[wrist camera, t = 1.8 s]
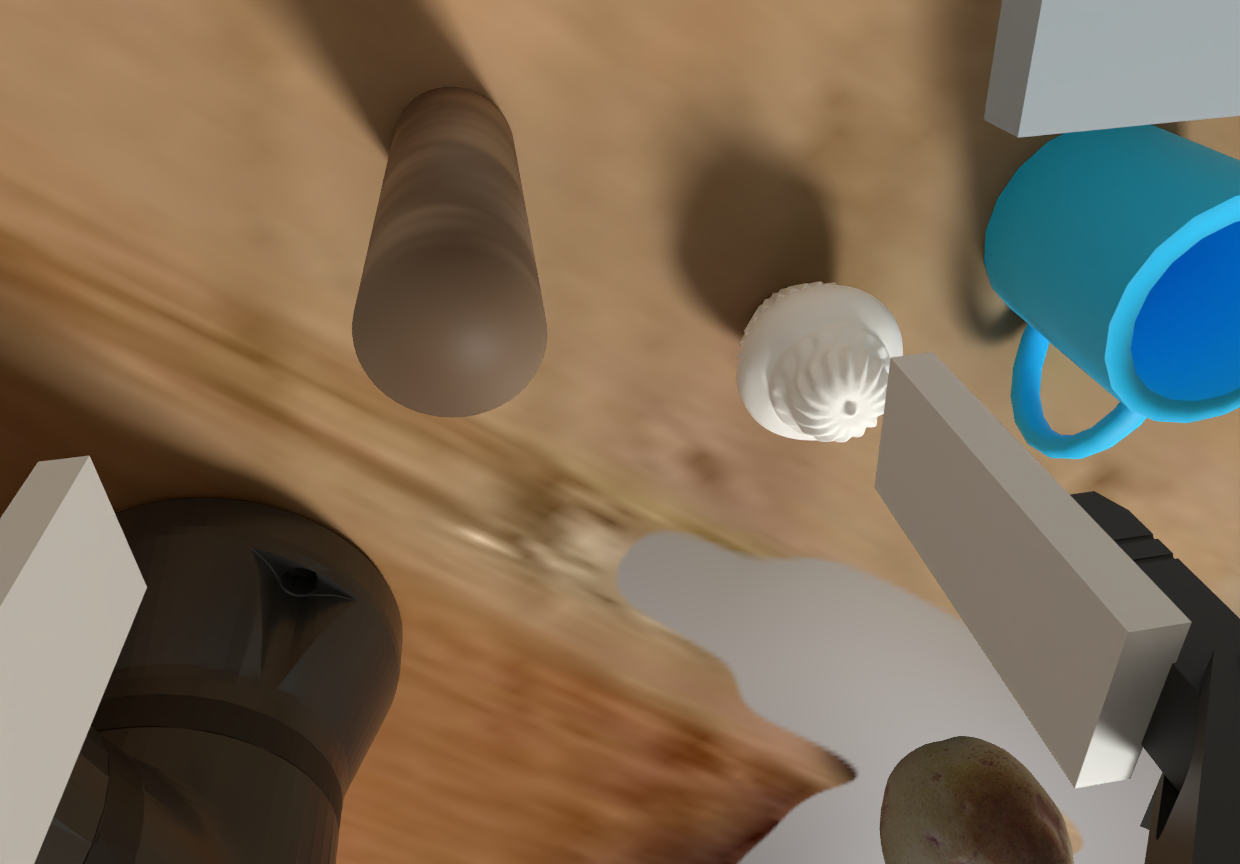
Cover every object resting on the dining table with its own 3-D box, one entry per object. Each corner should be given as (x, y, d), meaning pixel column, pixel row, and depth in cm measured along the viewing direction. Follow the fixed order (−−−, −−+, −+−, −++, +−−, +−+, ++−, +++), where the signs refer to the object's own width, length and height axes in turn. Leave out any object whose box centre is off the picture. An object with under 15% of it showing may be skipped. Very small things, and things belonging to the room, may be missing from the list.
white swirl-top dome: (683, 319, 36) (727, 413, 30) (813, 216, 34) (887, 293, 28) (770, 417, 39) (825, 520, 33) (893, 327, 37) (974, 417, 31)
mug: (1052, 90, 33) (1207, 155, 26) (1227, 149, 35) (1410, 224, 28) (904, 377, 39) (999, 492, 32) (1062, 413, 41) (1182, 527, 34)
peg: (404, 212, 32) (373, 427, 20) (382, 92, 30) (332, 255, 18) (520, 201, 32) (555, 405, 21) (506, 81, 30) (537, 233, 18)
